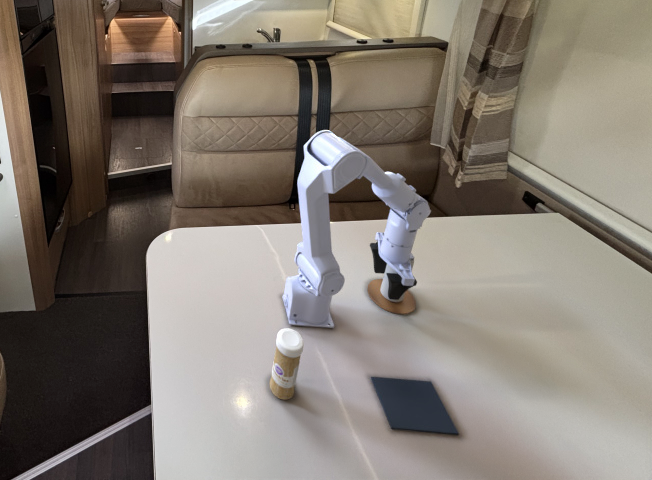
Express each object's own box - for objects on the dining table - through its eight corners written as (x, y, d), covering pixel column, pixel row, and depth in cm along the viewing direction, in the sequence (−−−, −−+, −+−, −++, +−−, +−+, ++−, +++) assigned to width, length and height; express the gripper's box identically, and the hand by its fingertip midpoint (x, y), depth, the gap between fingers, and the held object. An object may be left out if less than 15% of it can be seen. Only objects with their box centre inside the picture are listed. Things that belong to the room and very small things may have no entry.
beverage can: (406, 305, 97) (418, 264, 93) (383, 301, 98) (394, 261, 93) (398, 288, 101) (410, 249, 97) (377, 285, 102) (387, 246, 98)
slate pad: (391, 429, 74) (391, 427, 74) (370, 378, 82) (371, 376, 82) (458, 435, 73) (459, 433, 73) (430, 383, 81) (431, 381, 81)
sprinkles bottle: (265, 390, 80) (272, 339, 75) (275, 371, 83) (283, 322, 78) (288, 406, 77) (298, 355, 72) (298, 387, 81) (308, 336, 76)
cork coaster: (377, 313, 96) (377, 311, 96) (360, 278, 105) (361, 277, 105) (424, 316, 95) (424, 314, 95) (403, 281, 104) (403, 280, 104)
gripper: (435, 263, 87) (419, 312, 92) (402, 218, 100) (390, 262, 105) (399, 261, 87) (385, 310, 92) (370, 216, 101) (360, 261, 106)
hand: (385, 284), depth 99 cm, fingers open, 7 cm apart
